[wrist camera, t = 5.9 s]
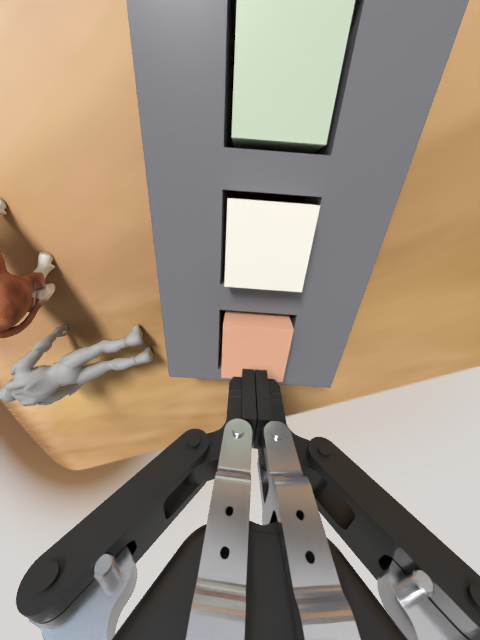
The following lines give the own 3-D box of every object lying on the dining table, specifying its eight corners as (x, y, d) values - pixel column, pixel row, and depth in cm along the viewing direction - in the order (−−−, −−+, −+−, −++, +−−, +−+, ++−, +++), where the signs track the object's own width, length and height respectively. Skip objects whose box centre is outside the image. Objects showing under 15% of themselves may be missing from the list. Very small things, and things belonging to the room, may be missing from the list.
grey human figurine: (135, 302, 23) (4, 341, 21) (130, 323, 19) (-39, 376, 16) (157, 350, 26) (45, 390, 24) (158, 379, 22) (18, 431, 19)
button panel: (418, 16, 12) (489, -58, 8) (317, 358, 23) (330, 387, 20) (154, -6, 12) (116, -90, 8) (181, 348, 23) (169, 376, 20)
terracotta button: (286, 309, 18) (293, 329, 15) (278, 357, 20) (282, 382, 18) (226, 305, 18) (222, 324, 15) (224, 354, 20) (221, 377, 18)
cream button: (306, 203, 14) (320, 205, 12) (293, 276, 17) (301, 292, 14) (231, 197, 14) (227, 198, 12) (227, 272, 17) (224, 286, 14)
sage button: (331, 40, 12) (356, -5, 9) (311, 154, 14) (326, 144, 11) (239, 32, 12) (237, -15, 9) (234, 148, 14) (231, 137, 11)
